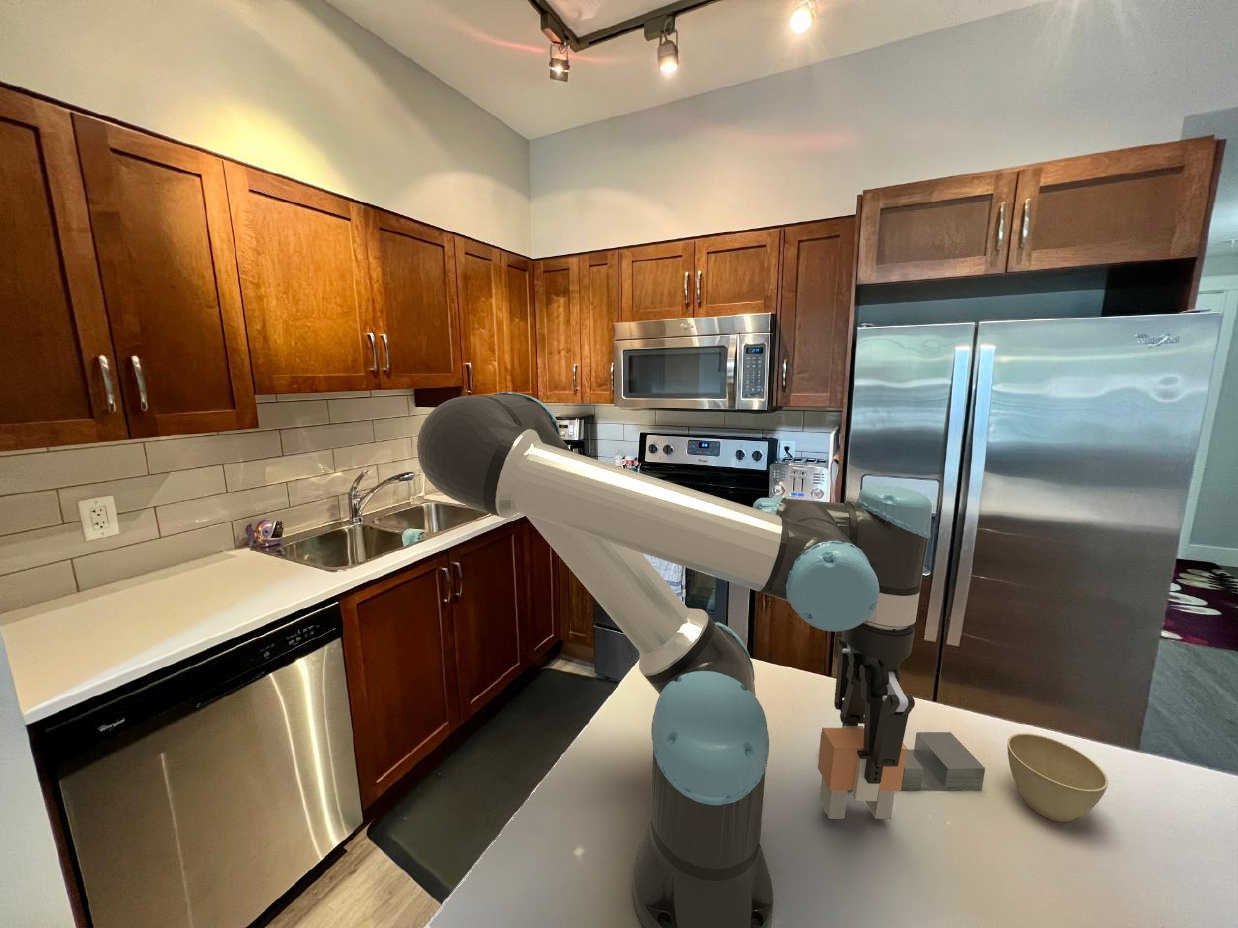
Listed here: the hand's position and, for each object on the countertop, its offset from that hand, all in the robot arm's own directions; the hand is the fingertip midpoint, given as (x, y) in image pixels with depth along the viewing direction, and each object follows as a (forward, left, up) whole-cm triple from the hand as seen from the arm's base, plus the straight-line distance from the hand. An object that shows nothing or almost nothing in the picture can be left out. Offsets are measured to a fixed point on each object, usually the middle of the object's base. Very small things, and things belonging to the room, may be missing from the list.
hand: (856, 783), depth 62 cm
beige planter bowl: (+28, +2, -5) cm, 28 cm away
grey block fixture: (+11, +8, -5) cm, 14 cm away
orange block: (0, 0, -4) cm, 4 cm away
